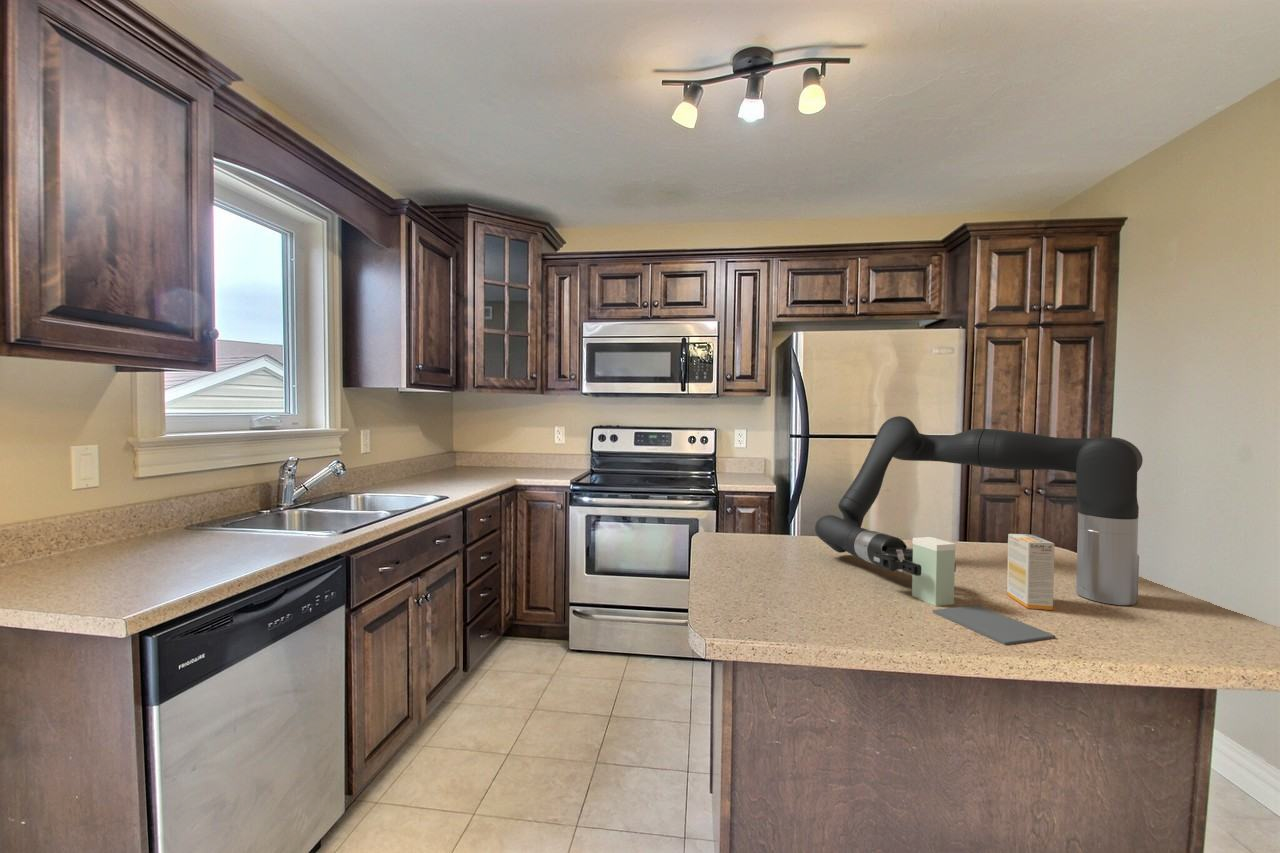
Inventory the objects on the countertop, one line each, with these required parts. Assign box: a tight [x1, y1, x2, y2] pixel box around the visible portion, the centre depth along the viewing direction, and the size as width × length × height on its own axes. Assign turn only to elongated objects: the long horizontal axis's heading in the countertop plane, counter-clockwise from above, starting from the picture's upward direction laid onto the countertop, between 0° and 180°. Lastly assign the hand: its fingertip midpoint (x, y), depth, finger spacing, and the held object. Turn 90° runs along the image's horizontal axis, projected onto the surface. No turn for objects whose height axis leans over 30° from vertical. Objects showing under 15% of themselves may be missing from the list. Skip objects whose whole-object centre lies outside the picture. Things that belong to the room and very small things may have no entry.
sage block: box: [911, 536, 957, 607], centre depth 105 cm, size 5×6×12 cm
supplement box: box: [1006, 533, 1055, 611], centre depth 104 cm, size 8×5×13 cm, turn 168°
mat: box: [932, 604, 1056, 646], centre depth 93 cm, size 11×14×1 cm
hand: (937, 569), depth 104 cm, fingers open, 8 cm apart
